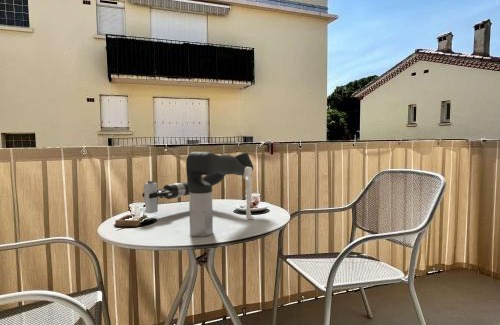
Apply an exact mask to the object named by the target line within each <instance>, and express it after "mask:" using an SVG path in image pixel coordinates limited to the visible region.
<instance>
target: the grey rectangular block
mask: <svg viewBox="0 0 500 325" xmlns="http://www.w3.org/2000/svg"><path fill="white" fill-rule="evenodd" d="M157 189H158V182H154V180H147V182H145V183H143V193H144V197H143V204H144V203H145V204H146V210H145V212H144V213H147V214H153V213H157V212H159V210H158V209H159V208H158V206H159V205H158V198H151V199H150V198H149V194H152V193H157Z"/></svg>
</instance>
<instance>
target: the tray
mask: <svg viewBox="0 0 500 325" xmlns="http://www.w3.org/2000/svg"><path fill="white" fill-rule="evenodd" d="M132 215H133V214H125V215H123V216H121V217H120V218H117V219H116V220H115V221H114V222H115V226H116V227H138V226H141V224H140V221H142V220H143V219H145V218H147V219H148V215H147V214H142V215H143V217H141V218H139V219H137V220H125V219H129V218H132Z"/></svg>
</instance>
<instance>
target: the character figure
mask: <svg viewBox="0 0 500 325" xmlns="http://www.w3.org/2000/svg"><path fill="white" fill-rule="evenodd" d="M252 172H253V171H252V168H251V167H246V168H245V171H244V175H243V179H244V180H245V183H246V184H245V185H246V186H245V190H244V194H245V195H246V210H245V216H246V218H245V219H246V220H255V217H254V216H253V215H252V213H251V205H252V196H253V194H252V189H253V187H252V185H253V179H252V174H253V173H252Z"/></svg>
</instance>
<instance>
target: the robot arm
mask: <svg viewBox="0 0 500 325" xmlns="http://www.w3.org/2000/svg"><path fill="white" fill-rule="evenodd" d="M246 167H251V168H252V172H253V170H254V165H253V162H252V161H251V158H250V156H249V154H248V153H247V152H241V153H238V154H236V155H235V156H233V155H230V154H224V153H223V154H215V153H212V152H210V151H191V152H189V153H188V155H187V157H186V162H185V170H186V177H187V178H186V180H187V181H185V182H176V183H169V184H165V185H164V186H163V188H157V193H152V194H149V198H150V199H151V198H157V199H158V198H159V199H163V198H165V199H167V200H171V199H177V198H180V197H184V196H189V197H188V198H189V199H188V202H189V205H188V206H189V208H188V209H189V235H190V237H202V238H203V237H205V238H206V237H208V236H210V235H213V232H214V230H213V227H214V226H213V224H214V222H213V217H214V216H213V186H216V185H217V184H219V183H220V182H222V181H223V180H224V178H225V176H226V175H237V176H244V171H245V168H246ZM202 176H203V177H202ZM141 196H142V198H144V192H142V195H141Z"/></svg>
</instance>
